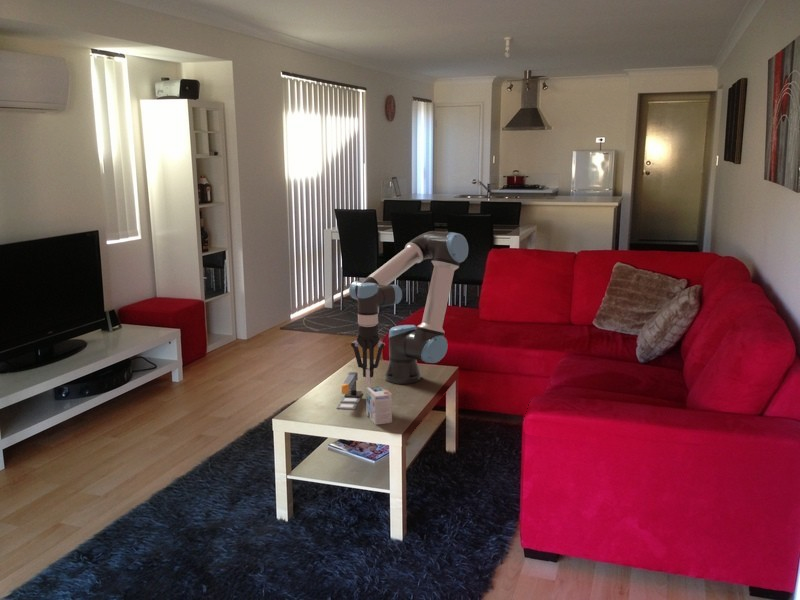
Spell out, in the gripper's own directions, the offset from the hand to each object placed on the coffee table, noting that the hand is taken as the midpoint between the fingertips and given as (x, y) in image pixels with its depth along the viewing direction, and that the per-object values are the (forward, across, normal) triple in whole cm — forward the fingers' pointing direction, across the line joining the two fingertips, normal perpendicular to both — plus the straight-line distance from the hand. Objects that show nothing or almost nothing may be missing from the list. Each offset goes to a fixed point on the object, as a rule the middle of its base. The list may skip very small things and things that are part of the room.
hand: (368, 385), depth 267 cm
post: (+8, +8, -10) cm, 15 cm away
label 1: (+8, +8, -4) cm, 12 cm away
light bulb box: (+8, -6, +14) cm, 17 cm away
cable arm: (+2, +8, -3) cm, 8 cm away
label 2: (+8, +8, +3) cm, 12 cm away
